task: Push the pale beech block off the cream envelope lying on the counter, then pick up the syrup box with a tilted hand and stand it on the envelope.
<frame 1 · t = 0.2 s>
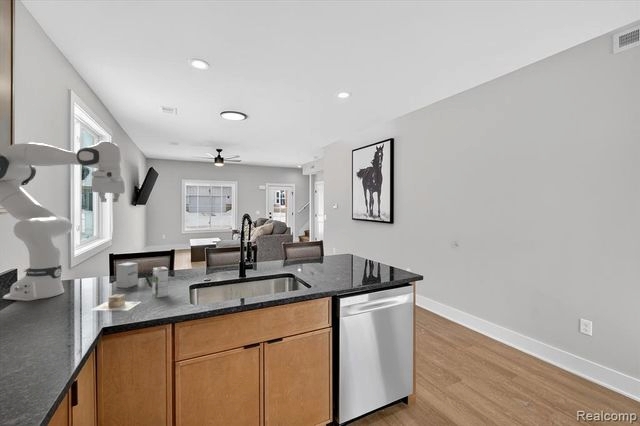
hand: (109, 202, 143), 47 cm above the counter, tool pointing down, fingers open, 8 cm apart
beech block: (116, 305, 130), resting on envelope
envelope: (116, 306, 130), on the counter
supplement box: (127, 286, 161), on the counter
syrup box: (160, 296, 146), on the counter
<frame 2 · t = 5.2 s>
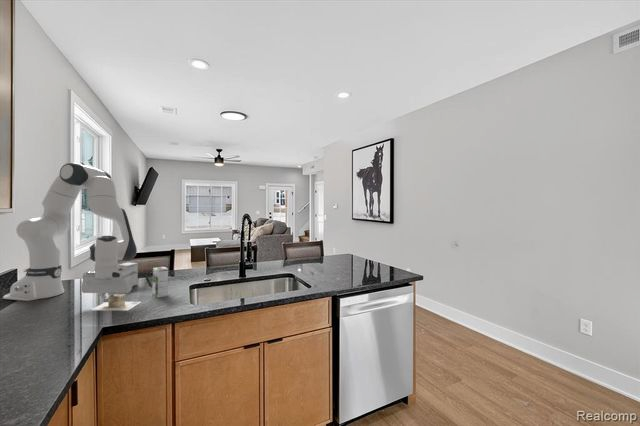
hand: (107, 302, 130), 2 cm above the counter, tool pointing down, fingers closed
beech block: (116, 305, 130), resting on envelope, touching gripper
everything else where it was.
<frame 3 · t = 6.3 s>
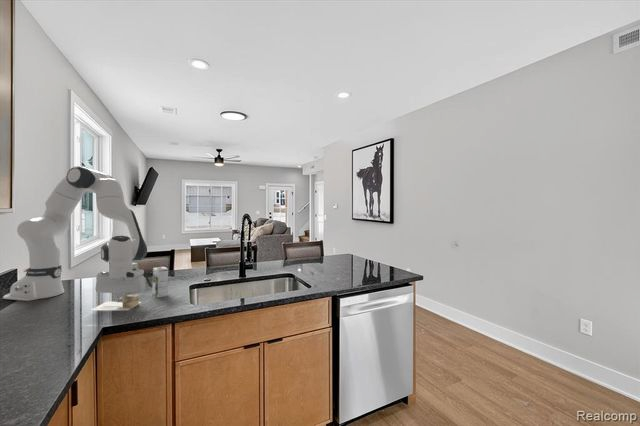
hand: (121, 302, 130), 2 cm above the counter, tool pointing down, fingers closed
beech block: (130, 306, 130), resting on envelope
everything else where it was.
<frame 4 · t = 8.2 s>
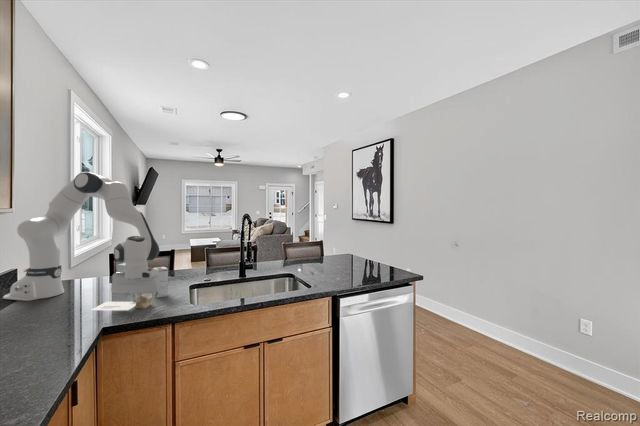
hand: (136, 302, 130), 2 cm above the counter, tool pointing down, fingers closed
beech block: (142, 306, 130), on the counter, tilted 11°, touching gripper
everything else where it was.
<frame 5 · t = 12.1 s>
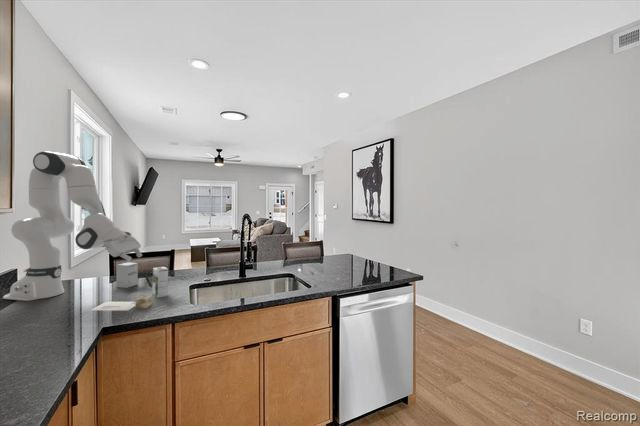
hand: (135, 258, 145), 19 cm above the counter, tool tilted 45°, fingers open, 8 cm apart
beech block: (143, 307, 131), on the counter
everything else where it was.
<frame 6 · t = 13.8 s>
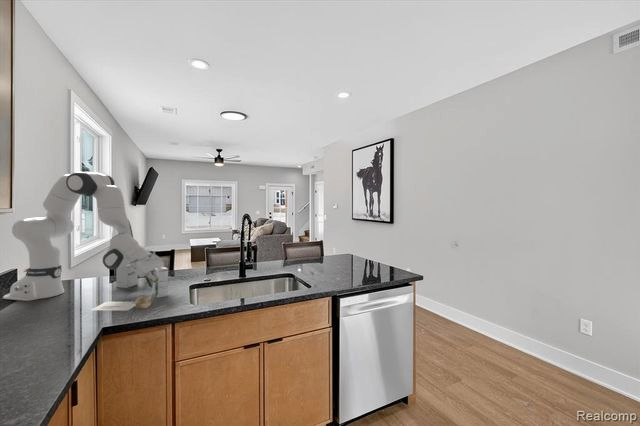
hand: (160, 277, 146), 10 cm above the counter, tool tilted 45°, fingers open, 8 cm apart
syrup box: (160, 296, 146), on the counter, touching gripper
everything else where it was.
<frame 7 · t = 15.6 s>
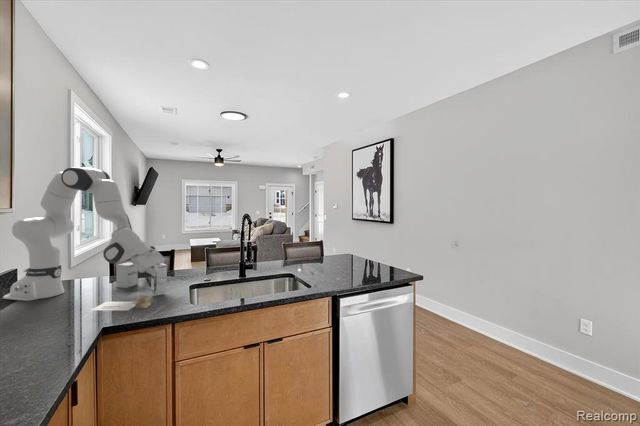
hand: (160, 273, 146), 12 cm above the counter, tool tilted 45°, fingers closed on syrup box, 8 cm apart
syrup box: (158, 292, 146), point 2 cm above the counter, touching gripper
everything else where it was.
when the fingers open (10 cm above the counter, at t = 20.9 s): syrup box stays where it is, resting on envelope.
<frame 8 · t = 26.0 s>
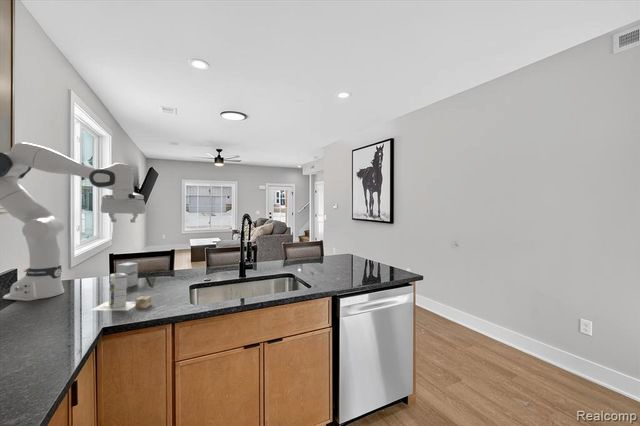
hand: (123, 222, 146), 37 cm above the counter, tool pointing down, fingers open, 8 cm apart
syrup box: (117, 306, 130), resting on envelope
everything else where it was.
at the end: syrup box inside the target area on the envelope (0.4 cm from its centre), point 0.1 cm above the envelope's base; syrup box tilted 1°; beech block touching counter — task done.
